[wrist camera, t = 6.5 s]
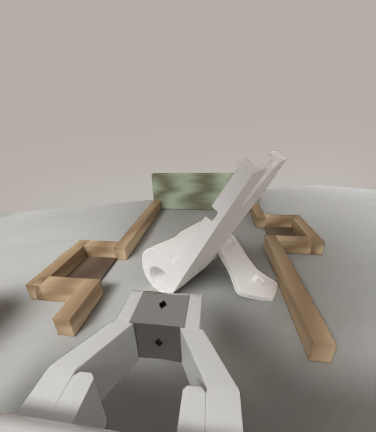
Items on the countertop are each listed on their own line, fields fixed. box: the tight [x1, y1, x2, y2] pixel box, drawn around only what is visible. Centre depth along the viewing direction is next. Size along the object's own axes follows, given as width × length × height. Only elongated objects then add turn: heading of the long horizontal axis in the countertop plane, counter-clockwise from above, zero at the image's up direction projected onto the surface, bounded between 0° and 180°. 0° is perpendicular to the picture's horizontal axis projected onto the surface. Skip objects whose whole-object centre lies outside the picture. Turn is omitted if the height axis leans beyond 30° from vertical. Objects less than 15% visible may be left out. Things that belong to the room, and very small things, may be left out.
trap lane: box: [26, 173, 337, 363], centre depth 24 cm, size 27×26×6 cm
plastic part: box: [142, 150, 287, 301], centre depth 17 cm, size 8×10×12 cm
